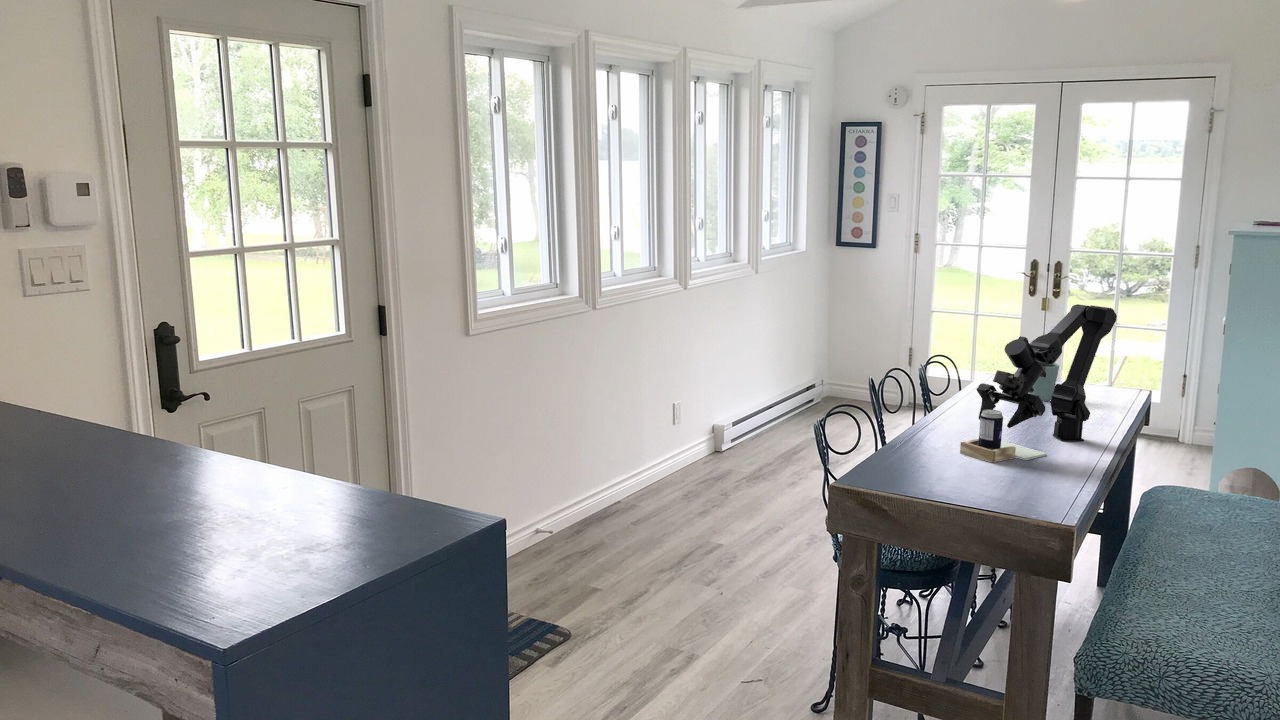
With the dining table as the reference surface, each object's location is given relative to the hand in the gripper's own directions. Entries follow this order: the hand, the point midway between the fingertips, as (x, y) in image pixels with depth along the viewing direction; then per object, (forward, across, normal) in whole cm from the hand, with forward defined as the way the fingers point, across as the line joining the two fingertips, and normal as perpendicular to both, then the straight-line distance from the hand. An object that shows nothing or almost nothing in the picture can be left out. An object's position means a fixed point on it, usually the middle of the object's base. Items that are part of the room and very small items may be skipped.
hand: (993, 423), depth 261 cm
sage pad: (0, 0, +12) cm, 12 cm away
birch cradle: (+7, 0, +6) cm, 9 cm away
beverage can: (+7, 0, +6) cm, 9 cm away
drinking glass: (-44, -37, +56) cm, 80 cm away
